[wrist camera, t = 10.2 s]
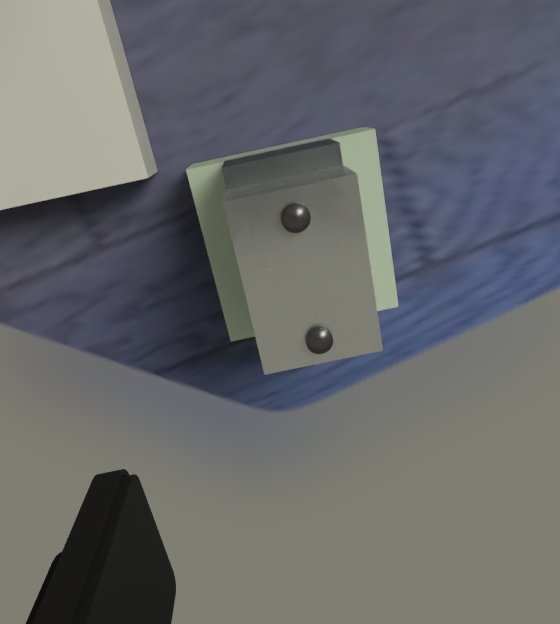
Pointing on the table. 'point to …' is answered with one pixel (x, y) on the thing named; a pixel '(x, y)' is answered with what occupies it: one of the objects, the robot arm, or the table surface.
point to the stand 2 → (215, 229)
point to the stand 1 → (66, 102)
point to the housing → (302, 255)
